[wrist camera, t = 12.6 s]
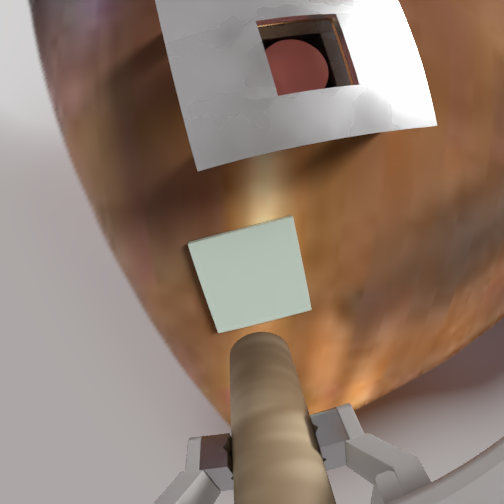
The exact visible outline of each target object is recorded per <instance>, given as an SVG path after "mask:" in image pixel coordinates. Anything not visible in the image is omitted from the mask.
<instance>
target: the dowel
mask: <svg viewBox="0 0 504 504" xmlns="http://www.w3.org/2000/svg"><path fill="white" fill-rule="evenodd" d="M230 398H231V433H232V461H233V485H234V504H336V502H335V498H334V495H333V492H332V488H331V485H330V482H329V479H328V475H327V472H326V468H325V465H324V462H323V458H322V457H321V454H320V450H319V447H318V444H317V439H316V435H315V434H314V430H313V427H312V424H311V420H310V415H309V412H308V409H307V405H306V402H305V399H304V396H303V392H302V389H301V386H300V383H299V379H298V376H297V373H296V370H295V366H294V363H293V360H292V357H291V353H290V350H289V347H288V345H287V343H286V342H285V341H284V340H283V339H282V338H281V337H279V336H277V335H275V334H273V333H268V332H256V333H251V334H248V335H246V336H244V337H242V338H241V339H239V340H238V341H237V342H236V343H235V344H234V345H233V347H232V349H231V352H230Z"/></svg>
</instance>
